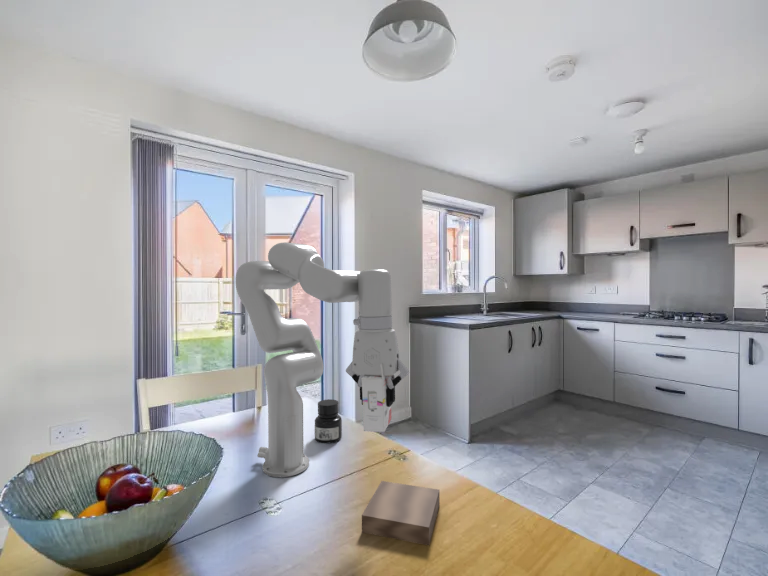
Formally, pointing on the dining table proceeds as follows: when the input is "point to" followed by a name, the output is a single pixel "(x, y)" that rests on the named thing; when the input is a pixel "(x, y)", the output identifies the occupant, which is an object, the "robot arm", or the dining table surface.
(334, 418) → the ink bottle
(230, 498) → the dining table surface
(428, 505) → the walnut block
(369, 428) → the ink cartridge box
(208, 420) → the dining table surface
